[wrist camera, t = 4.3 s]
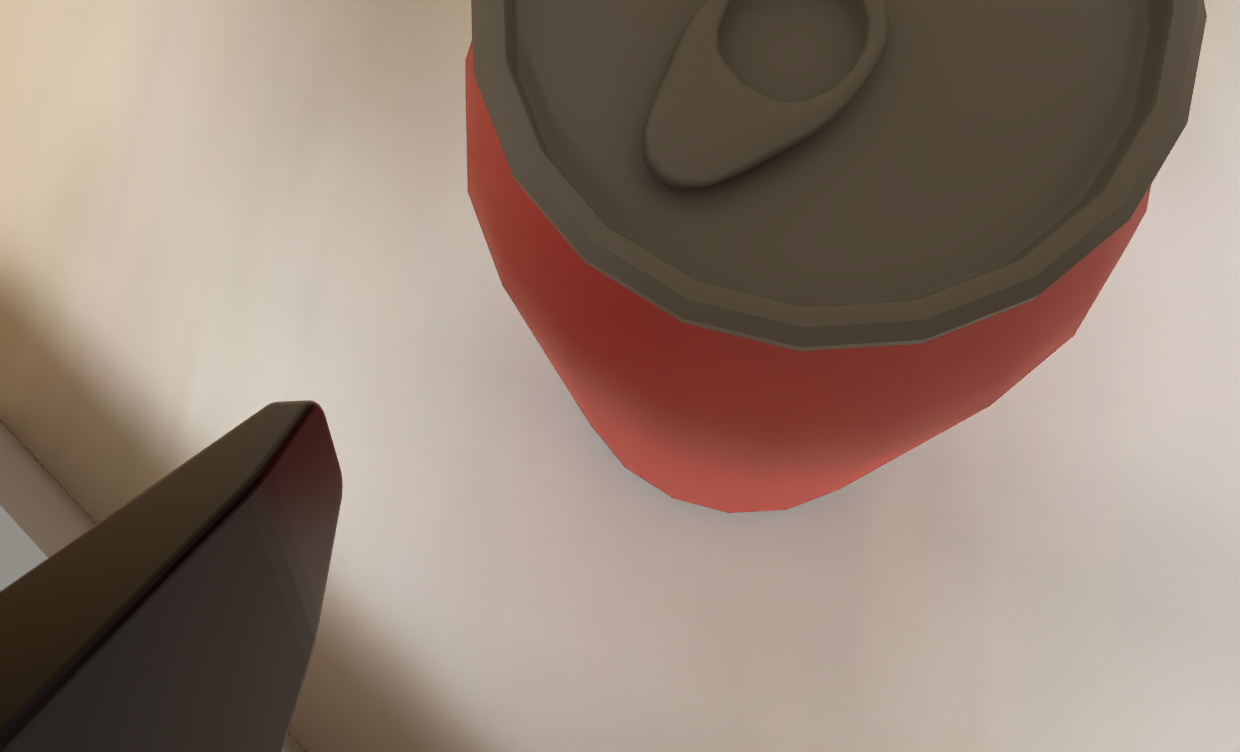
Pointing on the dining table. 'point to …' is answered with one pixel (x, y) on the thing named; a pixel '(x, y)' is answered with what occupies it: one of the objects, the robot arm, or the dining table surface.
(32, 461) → the tray
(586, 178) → the beer can
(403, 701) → the dining table surface
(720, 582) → the dining table surface
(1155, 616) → the dining table surface
